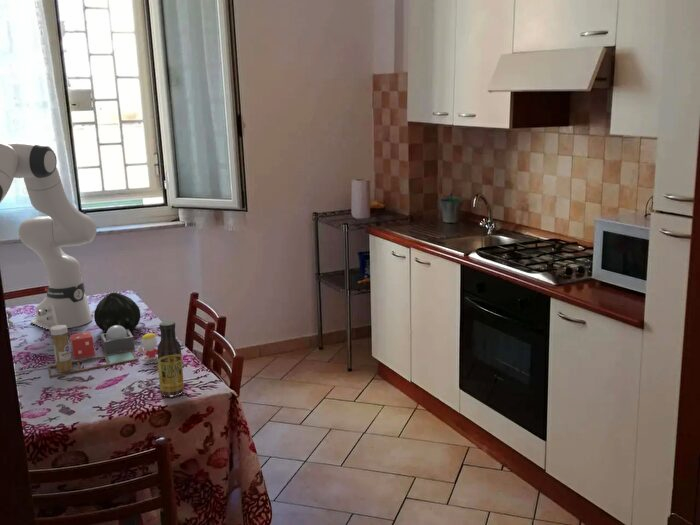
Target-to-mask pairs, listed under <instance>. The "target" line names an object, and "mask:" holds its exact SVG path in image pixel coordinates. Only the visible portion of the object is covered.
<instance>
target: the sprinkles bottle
mask: <svg viewBox="0 0 700 525" xmlns="http://www.w3.org/2000/svg"><path fill="white" fill-rule="evenodd" d="M49 331H50V334H51V338H52V347H53V354H54V360H55V365H56V366H57V367H56V372H58V373H64V372H69V371H72V370H73V364H72V362H73V361H72V356H71V348H70V342H69V337H68V336H69V335H68V328H67V326H66V325H56V326H53V327H51V328H50V330H49Z"/></svg>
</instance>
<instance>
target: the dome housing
mask: <svg viewBox="0 0 700 525" xmlns="http://www.w3.org/2000/svg"><path fill="white" fill-rule="evenodd" d="M126 331H127V337H125V338H120V339H114V340H109V341H107V339H106V333H107V332H106V333H100V341H101V347H102V349H103V351H104V353H105V355H109V354H114V353H119V352H124V351H130V350H134V349H135V339H134V335H133V334H132V332H131V331H129V329H126Z"/></svg>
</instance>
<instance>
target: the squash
mask: <svg viewBox="0 0 700 525" xmlns="http://www.w3.org/2000/svg"><path fill="white" fill-rule="evenodd" d="M93 316H94V322H95V324H96V326H97V327H98V328H99V329H100V330H102V331H103V332H106V333H107V331H108V329H109V328H110V327H112V326H114V325H120V326H122V327H124V328H125V330H126V329H129V331H130V332H131V331H133V330H134V329H135V328H136V327H137V326H138V324H139V323H140V321H141V309H140V308H139V305H138V304H137V303H136V302H135V301H134V300H133V299H132V298H130V297H129V296H126V295H124V294H122V293H119V292H110V293H108V294H107V295H106V296H104V297H103V298H102V299H100V300H99V302H98V303H97V305H96V306H95V310H94V313H93Z"/></svg>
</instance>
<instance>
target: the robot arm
mask: <svg viewBox="0 0 700 525" xmlns="http://www.w3.org/2000/svg"><path fill="white" fill-rule="evenodd" d="M57 161H58V160H57V155H56V153H55V152H54V150H53V149H52V148H51V146H48V145H46V144H42V143H31V142H21V141H18V142H2V141H0V204H1V203H2V201H3V200H4V198H5V197H6V196H7V194H8V192H9V191H10V189H11V186H12V183H13V181H14V178H15V179H22V178H23V181H24V185H25V189H26V192H27V194H28V198H29V201H30V203H31V205H32V207H33V208H34V209H35V210H36V211H38V212H40V213H42V214H45V215H43V216H42V215H41V216H35V217H30V218H27V219H24V220H23V221H21V223H20V224H19V228H18V236H19V240H20V241H21V243H22V244H23V245H24V246H26V247H27V248H29V249H30V250H31V251H33V252H34V253H35V254H37V256H38V257H39V259H40V260H41V262H42V264H43V265H44V267H45V272H46V277H47V282H48V286H46V287H44V289H45V290H44V291H45V292H46V297H45V298H44V299H43V300H42V301H41V302H39V304H38V305H37V306H36V310H35V311H36V317H34V318H32V319H31V320H30V321H29V322H31V323H34V324H36V325H39V326H42V327H44V328H47V329H49V330H48V331H50V328H51V327H53V326H56V325H66V326H67V329H71V328H77V327H81V326H84V325H86V324H88V323H90V322H92V320H93V316H94V313H93V312H92V311H91V308H90V304H89V300H88V296H87V295H86V294H85V292H86V289H85V285H84V282H83V279H82V272H81V264H80V262H79V261H78V260H77V259H76V258H75V257H74V256H71V255H69V254H67V253H65V251H63V249H62V248H63V247H64V248H65V247H79V246H83V245H86V244H90V243H92V242H93V241H94V240H95V238H96V235H97V225H96V223H95V221H94V219H93V218H92V217H90V216H89V215H87V214H86V213H83V212H81V211H80V210H79V209H77V208H76V207H75V206H74V205H73V204H72V202H71V201H70V200H69V198H68V197H67V196H68V195H67V193H66V192H65V188H64V186H63V182H62V180H61V176H60V173H59V170H58V168H57V163H58V162H57ZM7 314H8V323H9V329H11V328H12V327H13V325H14V323H13V321H11V318H12V316H13V313H11V312H10V311H8V310H7ZM92 315H93V316H92ZM36 325H35V326H36ZM44 328H43V329H44ZM9 329H8V330H9ZM47 329H46V330H47Z"/></svg>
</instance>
